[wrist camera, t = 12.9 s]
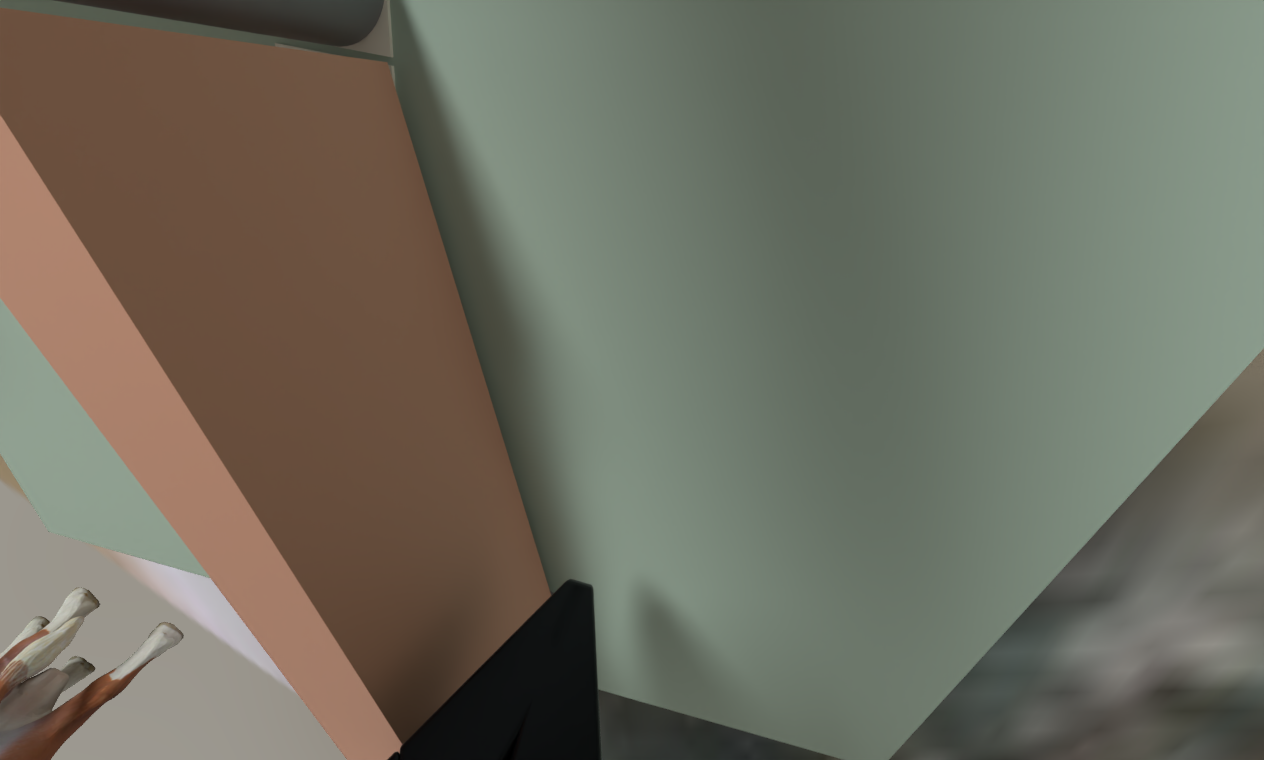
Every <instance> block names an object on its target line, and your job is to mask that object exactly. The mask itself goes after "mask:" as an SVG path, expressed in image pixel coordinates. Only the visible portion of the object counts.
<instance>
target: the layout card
mask: <svg viewBox="0 0 1264 760" xmlns="http://www.w3.org/2000/svg"><path fill="white" fill-rule="evenodd" d="M0 8H7V9H14V10H21V11H29V12H36V13H43V14H50V15H57V16H64V17H71V18H78V19H85V20H92V21H99V22H106V23H113V24H120V25H127V26H134V27H141V28H149V29H156V30H163V31H170V32H177V33H184V34H191V35H198V36H205V37H212V38H219V39H226V40H233V41H240V42H247V43H254V44H262V45H269V46H276V47H283V48H290V49H297V50H304V51H311V52H318V53H325V54H332V55H339V56H346V57H353V58H360V59H367V60H374V61H382V62H387V63H388V66H389V69H390V73H391V76H392V79H393V82H394V86H395V89H396V92H397V95H398V99H399V102H400V105H401V108H402V112H403V115H404V118H405V121H406V125H407V128H408V131H409V134H410V138H411V141H412V144H413V147H414V151H415V154H416V157H417V160H418V164H419V167H420V170H421V173H422V177H423V180H424V183H425V186H426V190H427V193H428V196H429V199H430V203H431V206H432V209H433V212H434V216H435V219H436V222H437V225H438V229H439V232H440V235H441V238H442V242H443V245H444V248H445V251H446V255H447V258H448V261H449V264H450V268H451V271H452V274H453V277H454V281H455V284H456V287H457V290H458V294H459V297H460V300H461V303H462V307H463V310H464V313H465V316H466V320H467V323H468V326H469V329H470V333H471V336H472V339H473V342H474V346H475V349H476V352H477V356H478V359H479V362H480V365H481V369H482V372H483V375H484V378H485V382H486V385H487V388H488V391H489V395H490V398H491V401H492V404H493V408H494V411H495V414H496V417H497V421H498V424H499V427H500V430H501V434H502V437H503V440H504V443H505V447H506V450H507V453H508V456H509V460H510V463H511V466H512V469H513V473H514V476H515V479H516V482H517V486H518V489H519V492H520V495H521V499H522V502H523V505H524V508H525V512H526V515H527V518H528V521H529V525H530V528H531V531H532V534H533V538H534V541H535V544H536V547H537V551H538V554H539V557H540V560H541V564H542V567H543V570H544V573H545V577H546V580H547V583H548V586H549V590H550V591H552V592H553V593H554V592H555V591H556V590H557V589H558V588H559V587H560V586H561V585H562V584H563V583H564V582H565V581H567V580H569V579H574V580H578V581H581V582H585V583H588V584H591V585H592V586H593V590H594V610H595V632H596V654H597V675H598V689H599V690H602V691H606V692H609V693H613V694H616V695H620V696H623V697H627V698H630V699H634V700H637V701H640V702H644V703H647V704H651V705H654V706H658V707H661V708H665V709H668V710H672V711H675V712H679V713H682V714H686V715H689V716H693V717H696V718H700V719H703V720H707V721H710V722H714V723H717V724H721V725H724V726H728V727H731V728H735V729H738V730H742V731H745V732H749V733H752V734H756V735H759V736H763V737H766V738H770V739H773V740H776V741H780V742H783V743H787V744H790V745H794V746H797V747H801V748H804V749H808V750H811V751H815V752H818V753H822V754H825V755H829V756H832V757H836V758H839V759H843V760H889V759H890V758H891V757H892V756H893V755H894V753H895V752H896V751H897V750H898V749H899V748H900V747H901V746H902V745H903V744H904V743H905V741H906V740H907V739H908V738H909V737H910V736H911V735H912V734H913V733H914V732H915V730H916V729H917V728H918V727H919V726H920V725H921V724H922V723H923V722H924V721H925V719H926V718H927V717H928V716H929V715H930V714H931V713H932V712H933V711H934V710H935V708H936V707H937V706H938V705H939V704H940V703H941V702H942V701H943V700H944V699H945V697H946V696H947V695H948V694H949V693H950V692H951V691H952V690H953V689H954V688H955V687H956V685H957V684H958V683H959V682H960V681H961V680H962V679H963V678H964V677H965V676H966V674H967V673H968V672H969V671H970V670H971V669H972V668H973V667H974V666H975V665H976V663H977V662H978V661H979V660H980V659H981V658H982V657H983V656H984V655H985V654H986V652H987V651H988V650H989V649H990V648H991V647H992V646H993V645H994V644H995V643H996V641H997V640H998V639H999V638H1000V637H1001V636H1002V635H1003V634H1004V633H1005V632H1006V631H1007V629H1008V628H1009V627H1010V626H1011V625H1012V624H1013V623H1014V622H1015V621H1016V620H1017V618H1018V617H1019V616H1020V615H1021V614H1022V613H1023V612H1024V611H1025V610H1026V609H1027V607H1028V606H1029V605H1030V604H1031V603H1032V602H1033V601H1034V600H1035V599H1036V598H1037V596H1038V595H1039V594H1040V593H1041V592H1042V591H1043V590H1044V589H1045V588H1046V587H1047V585H1048V584H1049V583H1050V582H1051V581H1052V580H1053V579H1054V578H1055V577H1056V576H1057V575H1058V573H1059V572H1060V571H1061V570H1062V569H1063V568H1064V567H1065V566H1066V565H1067V564H1068V562H1069V561H1070V560H1071V559H1072V558H1073V557H1074V556H1075V555H1076V554H1077V553H1078V551H1079V550H1080V549H1081V548H1082V547H1083V546H1084V545H1085V544H1086V543H1087V542H1088V540H1089V539H1090V538H1091V537H1092V536H1093V535H1094V534H1095V533H1096V532H1097V531H1098V529H1099V528H1100V527H1101V526H1102V525H1103V524H1104V523H1105V522H1106V521H1107V520H1108V519H1109V517H1110V516H1111V515H1112V514H1113V513H1114V512H1115V511H1116V510H1117V509H1118V508H1119V506H1120V505H1121V504H1122V503H1123V502H1124V501H1125V500H1126V499H1127V498H1128V497H1129V495H1130V494H1131V493H1132V492H1133V491H1134V490H1135V489H1136V488H1137V487H1138V486H1139V484H1140V483H1141V482H1142V481H1143V480H1144V479H1145V478H1146V477H1147V476H1148V475H1149V473H1150V472H1151V471H1152V470H1153V469H1154V468H1155V467H1156V466H1157V465H1158V464H1159V462H1160V461H1161V460H1162V459H1163V458H1164V457H1165V456H1166V455H1167V454H1168V453H1169V452H1170V450H1171V449H1172V448H1173V447H1174V446H1175V445H1176V444H1177V443H1178V442H1179V441H1180V439H1181V438H1182V437H1183V436H1184V435H1185V434H1186V433H1187V432H1188V431H1189V430H1190V428H1191V427H1192V426H1193V425H1194V424H1195V423H1196V422H1197V421H1198V420H1199V419H1200V417H1201V416H1202V415H1203V414H1204V413H1205V412H1206V411H1207V410H1208V409H1209V408H1210V406H1211V405H1212V404H1213V403H1214V402H1215V401H1216V400H1217V399H1218V398H1219V397H1220V396H1221V394H1222V393H1223V392H1224V391H1225V390H1226V389H1227V388H1228V387H1229V386H1230V385H1231V383H1232V382H1233V381H1234V380H1235V379H1236V378H1237V377H1238V376H1239V375H1240V374H1241V372H1242V371H1243V370H1244V369H1245V368H1246V367H1247V366H1248V365H1249V364H1250V363H1251V361H1252V360H1253V359H1254V358H1255V357H1256V356H1257V355H1258V354H1259V353H1260V352H1261V350H1262V349H1263V348H1264V0H384V4H383V9H382V12H381V15H380V17H379V20H378V22H377V24H376V25H375V27H374V28H373V30H372V31H371V32H370V33H369V34H368V35H367V37H365V38H364V39H363V40H361V41H360V42H358V43H355V44H353V45H349V46H342V47H338V46H330V45H323V44H317V43H311V42H305V41H299V40H293V39H287V38H281V37H274V36H268V35H262V34H256V33H250V32H244V31H238V30H231V29H225V28H219V27H213V26H207V25H201V24H195V23H188V22H182V21H176V20H170V19H164V18H158V17H152V16H146V15H139V14H133V13H127V12H121V11H115V10H109V9H103V8H96V7H90V6H84V5H78V4H72V3H66V2H60V1H54V0H0ZM0 454H1V456H2V457H3V459H4V460H5V462H6V464H7V465H8V467H9V468H10V470H11V472H12V473H13V475H14V477H15V478H16V480H17V481H18V483H19V485H20V486H21V488H22V490H23V491H24V493H25V494H26V496H27V498H28V499H29V501H30V503H31V504H32V506H33V507H34V509H35V511H36V512H37V514H38V516H39V517H40V519H41V520H42V522H43V523H44V525H45V527H46V528H47V530H48V532H51V533H55V534H58V535H62V536H65V537H69V538H72V539H76V540H79V541H82V542H86V543H89V544H93V545H96V546H100V547H103V548H107V549H110V550H114V551H117V552H121V553H124V554H128V555H131V556H135V557H138V558H142V559H145V560H149V561H152V562H156V563H159V564H163V565H166V566H170V567H173V568H177V569H180V570H184V571H187V572H191V573H194V574H198V575H201V576H205V577H208V578H210V577H209V575H208V574H207V573H206V571H205V570H204V569H203V567H202V566H201V565H200V563H199V562H198V561H197V559H196V558H195V557H194V555H193V554H192V553H191V551H190V550H189V549H188V547H187V546H186V545H185V543H184V542H183V541H182V539H181V538H180V537H179V535H178V534H177V533H176V531H175V530H174V529H173V527H172V526H171V525H170V523H169V522H168V521H167V519H166V518H165V517H164V515H163V514H162V513H161V511H160V510H159V509H158V507H157V506H156V505H155V503H154V502H153V501H152V499H151V498H150V497H149V495H148V494H147V493H146V491H145V490H144V489H143V487H142V486H141V485H140V483H139V482H138V481H137V479H136V478H135V477H134V475H133V474H132V473H131V471H130V470H129V469H128V467H127V466H126V465H125V463H124V462H123V461H122V459H121V458H120V457H119V455H118V454H117V453H116V451H115V450H114V449H113V447H112V446H111V445H110V443H109V442H108V441H107V439H106V438H105V437H104V435H103V434H102V433H101V431H100V430H99V429H98V427H97V426H96V425H95V423H94V422H93V421H92V419H91V418H90V417H89V415H88V414H87V413H86V411H85V410H84V409H83V407H82V406H81V405H80V403H79V402H78V401H77V399H76V398H75V397H74V396H73V394H72V393H71V392H70V390H69V389H68V388H67V386H66V385H65V384H64V382H63V381H62V380H61V378H60V377H59V376H58V374H57V373H56V372H55V370H54V369H53V368H52V366H51V365H50V364H49V362H48V361H47V360H46V358H45V357H44V356H43V354H42V353H41V352H40V350H39V349H38V348H37V346H36V345H35V344H34V342H33V341H32V340H31V338H30V337H29V336H28V334H27V333H26V332H25V330H24V329H23V328H22V326H21V325H20V324H19V322H18V321H17V320H16V318H15V317H14V316H13V314H12V313H11V312H10V310H9V309H8V308H7V306H6V305H5V304H4V302H3V301H2V300H1V298H0Z"/></svg>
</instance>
